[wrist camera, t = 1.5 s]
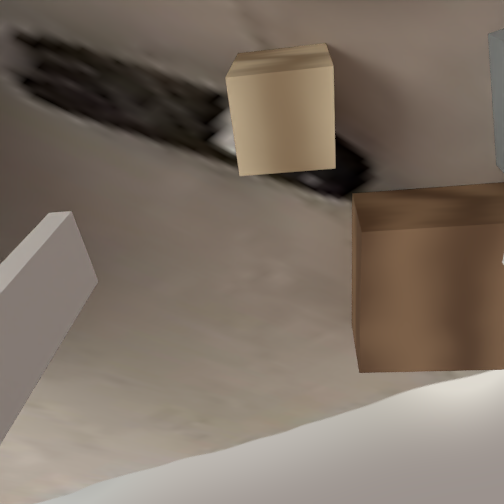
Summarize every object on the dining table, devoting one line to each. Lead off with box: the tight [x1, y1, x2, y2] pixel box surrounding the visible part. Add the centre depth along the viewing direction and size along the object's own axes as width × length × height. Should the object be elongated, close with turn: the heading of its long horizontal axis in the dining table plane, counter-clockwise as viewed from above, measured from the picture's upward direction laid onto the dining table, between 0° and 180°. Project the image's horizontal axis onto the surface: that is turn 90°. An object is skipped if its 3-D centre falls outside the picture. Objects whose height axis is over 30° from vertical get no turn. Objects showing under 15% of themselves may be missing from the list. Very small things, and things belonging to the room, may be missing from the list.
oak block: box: [225, 43, 336, 176], centre depth 25 cm, size 5×5×6 cm
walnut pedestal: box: [352, 182, 504, 373], centre depth 31 cm, size 12×12×5 cm
